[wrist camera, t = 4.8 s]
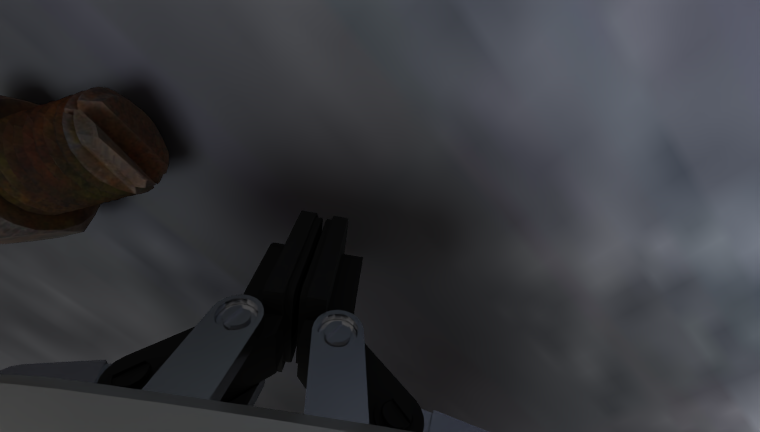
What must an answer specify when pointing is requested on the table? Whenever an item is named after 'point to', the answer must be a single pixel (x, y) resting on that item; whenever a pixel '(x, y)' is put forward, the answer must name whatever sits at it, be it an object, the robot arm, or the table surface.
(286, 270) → the robot arm
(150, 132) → the bolt
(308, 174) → the table surface
